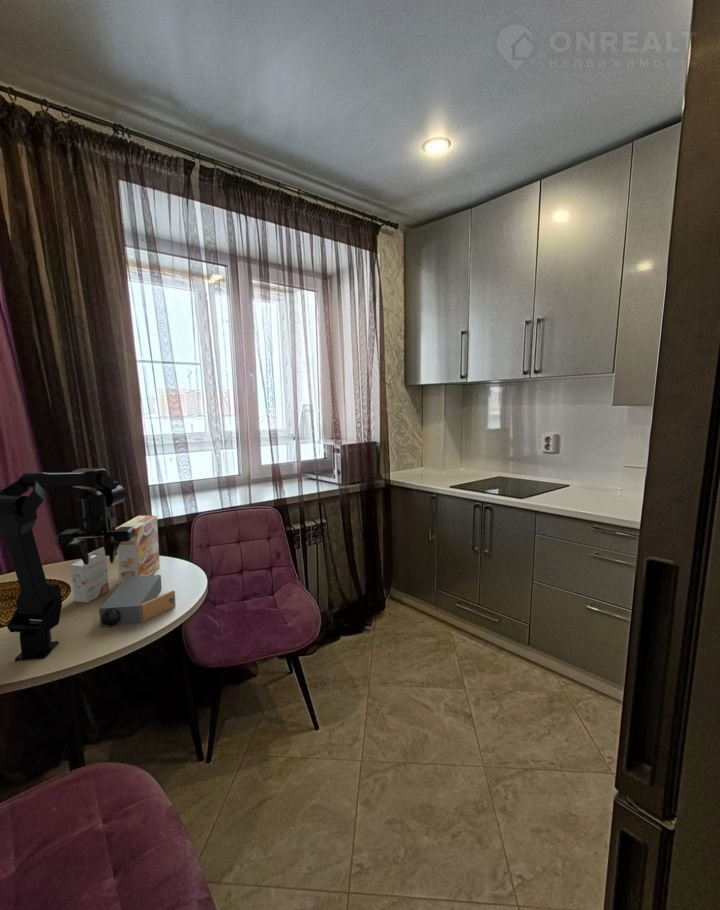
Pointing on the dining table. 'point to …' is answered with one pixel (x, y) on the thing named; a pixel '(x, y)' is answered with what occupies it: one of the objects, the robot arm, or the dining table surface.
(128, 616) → the box
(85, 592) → the ink cartridge box
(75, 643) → the dining table surface
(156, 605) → the side door
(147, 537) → the coffeecake box
